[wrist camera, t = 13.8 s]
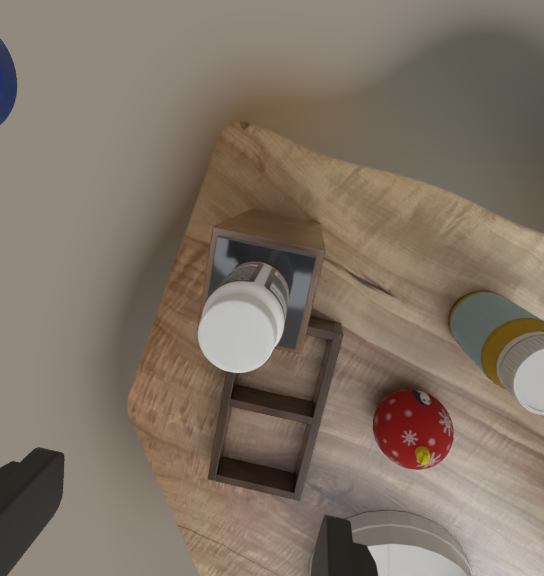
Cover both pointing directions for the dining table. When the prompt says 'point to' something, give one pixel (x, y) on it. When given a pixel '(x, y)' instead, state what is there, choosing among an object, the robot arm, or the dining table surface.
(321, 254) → the riser
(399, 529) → the dish
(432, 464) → the christmas ornament
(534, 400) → the bottle
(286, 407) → the rack
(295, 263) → the coaster
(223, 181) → the dining table surface
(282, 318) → the pill bottle
